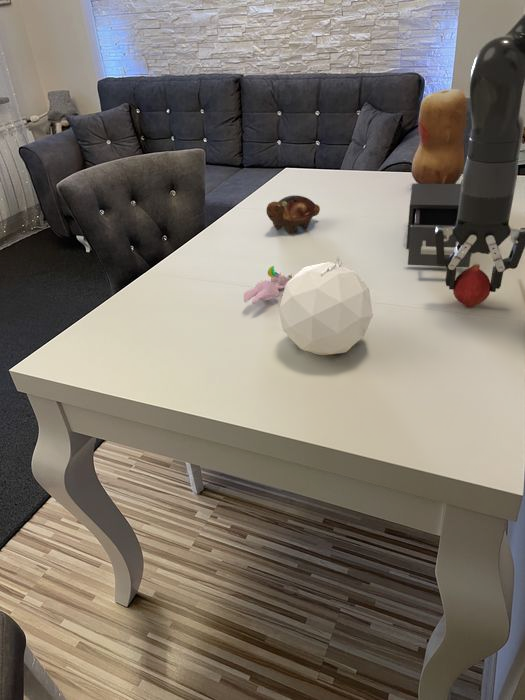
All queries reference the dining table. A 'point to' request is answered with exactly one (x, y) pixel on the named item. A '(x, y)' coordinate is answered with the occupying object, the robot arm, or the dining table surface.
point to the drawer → (432, 237)
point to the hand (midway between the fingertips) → (471, 288)
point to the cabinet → (432, 199)
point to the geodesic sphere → (325, 308)
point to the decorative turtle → (292, 212)
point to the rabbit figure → (267, 287)
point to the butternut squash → (441, 138)
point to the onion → (472, 286)
